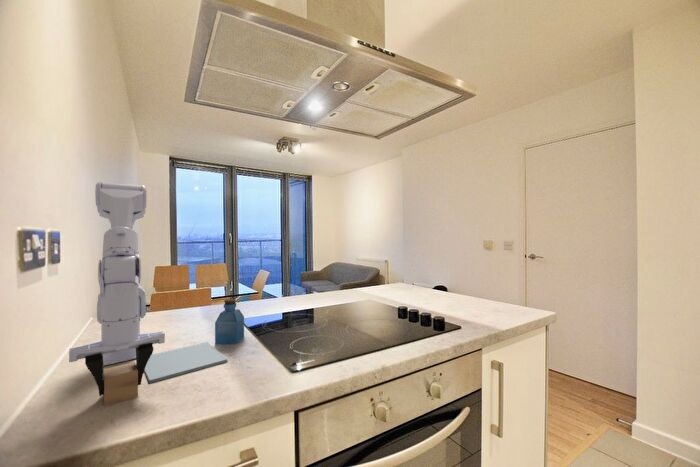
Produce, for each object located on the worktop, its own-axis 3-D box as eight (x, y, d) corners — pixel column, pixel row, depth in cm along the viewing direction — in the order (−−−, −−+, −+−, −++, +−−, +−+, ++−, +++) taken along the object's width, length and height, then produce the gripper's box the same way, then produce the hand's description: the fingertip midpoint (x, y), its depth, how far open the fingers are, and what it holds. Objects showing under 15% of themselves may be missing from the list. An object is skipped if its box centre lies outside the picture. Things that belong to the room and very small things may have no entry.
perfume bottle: (244, 336, 92) (243, 297, 92) (237, 343, 86) (236, 301, 86) (223, 337, 92) (223, 297, 92) (215, 344, 85) (215, 302, 86)
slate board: (139, 359, 75) (139, 357, 75) (207, 344, 85) (207, 342, 85) (149, 383, 63) (149, 380, 63) (227, 361, 73) (227, 359, 73)
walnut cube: (103, 395, 58) (103, 369, 58) (134, 386, 62) (134, 362, 62) (104, 405, 55) (104, 378, 55) (137, 396, 58) (137, 370, 58)
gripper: (68, 330, 50) (68, 411, 50) (167, 315, 60) (167, 383, 60) (70, 321, 56) (69, 395, 56) (161, 308, 65) (161, 371, 65)
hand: (120, 388), depth 58 cm, fingers closed on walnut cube, 5 cm apart
